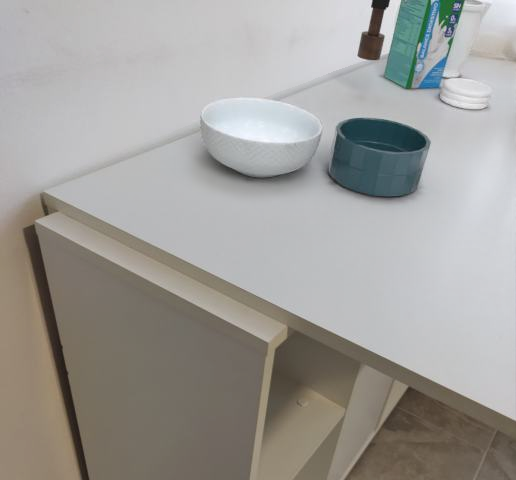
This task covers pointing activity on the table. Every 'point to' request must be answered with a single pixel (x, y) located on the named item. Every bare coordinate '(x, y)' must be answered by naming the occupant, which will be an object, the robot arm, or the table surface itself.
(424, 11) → the milk carton
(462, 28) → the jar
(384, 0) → the robot arm
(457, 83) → the coaster
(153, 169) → the table surface
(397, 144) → the bowl
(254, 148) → the cereal bowl
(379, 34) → the pestle
